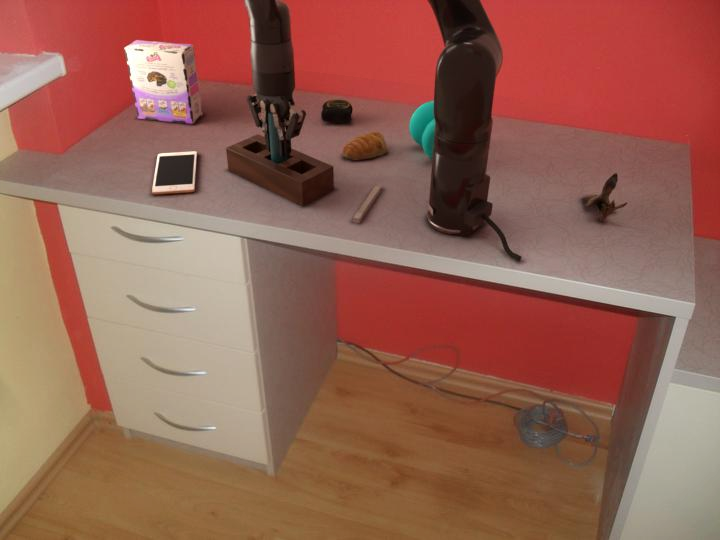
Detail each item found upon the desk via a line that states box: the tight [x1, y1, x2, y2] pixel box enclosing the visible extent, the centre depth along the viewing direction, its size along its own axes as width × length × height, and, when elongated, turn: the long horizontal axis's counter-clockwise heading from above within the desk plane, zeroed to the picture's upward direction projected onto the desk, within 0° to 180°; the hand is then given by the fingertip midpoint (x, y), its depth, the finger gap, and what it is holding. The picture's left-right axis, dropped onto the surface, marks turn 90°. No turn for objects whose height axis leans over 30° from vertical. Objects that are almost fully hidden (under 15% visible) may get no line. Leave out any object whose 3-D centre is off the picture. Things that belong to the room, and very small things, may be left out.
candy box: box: [123, 39, 203, 125], centre depth 156 cm, size 14×6×16 cm, turn 77°
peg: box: [268, 112, 287, 164], centre depth 133 cm, size 3×3×13 cm
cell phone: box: [151, 150, 198, 195], centre depth 138 cm, size 8×16×1 cm, turn 9°
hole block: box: [225, 133, 335, 207], centre depth 136 cm, size 8×21×5 cm, turn 49°
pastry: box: [342, 130, 389, 161], centre depth 146 cm, size 9×7×4 cm
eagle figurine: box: [580, 172, 628, 222], centre depth 127 cm, size 8×7×9 cm
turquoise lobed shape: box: [408, 100, 435, 160], centre depth 144 cm, size 10×10×10 cm
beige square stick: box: [352, 184, 382, 224], centre depth 129 cm, size 12×1×1 cm, turn 160°
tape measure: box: [320, 99, 353, 124], centre depth 159 cm, size 7×7×4 cm
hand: (278, 152), depth 134 cm, fingers closed on peg, 3 cm apart
